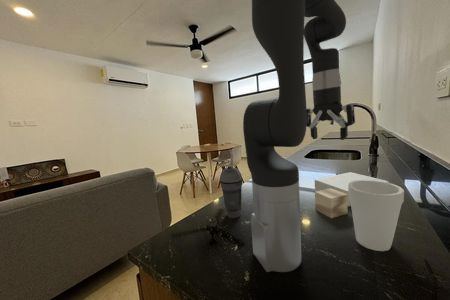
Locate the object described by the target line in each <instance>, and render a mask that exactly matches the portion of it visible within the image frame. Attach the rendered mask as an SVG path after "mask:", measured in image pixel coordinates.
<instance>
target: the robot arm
mask: <svg viewBox="0 0 450 300" xmlns="http://www.w3.org/2000/svg"><path fill="white" fill-rule="evenodd" d="M305 18H310V19H308V20H307V22H305ZM251 24H252V25H251V26H252V30H253V33H254V35H255V38H256V39H257V41H258V43H259V44H260V46H261V47H262V49H263V50H264V51H265V53H266V54H267V56H268V58H269V59H270V60H271V62H272V63H273V66H274V68H275V70H276V73H277V74H276V75H277V79H278V80H277V82H278V97H272V98H267V99H266V98H264V99H260V100H255V101H252V102H251V103H249V104H248V105H247V107H246V108H245V110H244V113H243V118H242V119H243V121H242V129H243V138H244V139H243V140H244V148H245V154H246V163H247V168H248V170H249V172H250V175H251V183H252V184H251V187H252V200H253V201H252V202H253V212H252V213H250V225H251V226H250V228H251V238H252V241H251V243H252V252H253V253H252V254H253V255H254V256H255V258H256V259H257V260H258V262H259V264H261V266H262V267H263V269H264V270H265V272H266V273H270V272H278V273H288V272H289V273H290V272H292V271H295V270H296V269H297V268H298V267H299V266H300V265H301V263H302V243H301V242H302V239H301V237H302V236H301V235H302V234H301V209H300V207H301V206H300V204H301V203H300V175H299V174H300V172H299V167H298V166H297V165H296V164H295V163H294V162H292V161H289V160H288V159H286V158H284V157H282V156H281V155H280V154H278V152H277V151H276V149H275V147H276V148H292V147H293V148H294V147H299V146H300V145H301V144H302V143H303V141H304V139H305V136H306V132H307V128H309V130H310V137H311V138H312V140H317V139H318V127H317V126H318V125H319V123H320V122H325V121H328V122H330V121H334V122H335V123H337V124H338V125H339V126H340V129H339V131H340V133H339V136H340V140H341V141H344V140H346V138H347V137H348V136H349V134H348V133H349V131H348V127H349V126H350V127H351V126H353V125H354V124H355V123H356V116H355V106H354V103H349V104H345V105H343V104H342V90H341V89H342V88H341V86H342V81H341V72H340V55H339V50H338V49H337V48H335V47H331V48H323V47H321V45H320V43H324V42H326V41H327V42H328V41H329V40H333V39H336V38H338V37H339V36H341V35H342V34H343V33H344V30H346V25H347V18H346V14H345V12H344V11H343V9H342V8H341V6H340V5H339V4H338V3H337V2H336V0H251ZM304 41H305V42H304ZM304 43H306V45H307V48H308V51H309V55H310V58H311V66H312V67H311V68H312V82H311V83H312V85H311V86H312V99H313V100H312V101H313V108H311V107H308V108H307V99H306V98H307V94H306V93H307V92H306V82H305V81H306V80H305V67H304V66H305V63H304V62H305V61H304V54H305V53H304V50H305V49H304V45H305V44H304ZM342 111H344V113H346V119H345V118H344V116H343V115H342V114H341V112H342ZM313 114H314V115H315V117H314V118H313V120H312V115H313ZM346 120H347V121H346Z"/></svg>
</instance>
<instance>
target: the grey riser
mask: <svg viewBox="0 0 450 300" xmlns="http://www.w3.org/2000/svg"><path fill="white" fill-rule="evenodd" d="M358 180H373V181H382V182H386V183H390V181H388V180H384V179H382V178H377V177H376V178H375V177H372V176H368V175H363V174H359V173H356V172H351V171H349V172H343V173H340V174H335V175H331V176H330V175H329V176H327V177H325V176H324V177H322V178H321V177H320V178H316V179H314V193H315V192H316V191H321V190H325V189H329V188H331V189H334V190H337V191H339V192H342V193H345V194H348V183H350V182H352V181H358ZM348 207H351V201H350V197H349V194H348V198H347V208H348Z"/></svg>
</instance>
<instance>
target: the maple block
mask: <svg viewBox="0 0 450 300" xmlns="http://www.w3.org/2000/svg"><path fill="white" fill-rule="evenodd" d="M314 194H315V195H314V199H315V200H314V201H315V204H314V205H315V206H314V207H315V211H317V212H319V213H321V214H323V215H324V216H326V217H328V218H330V219H334V218H337V217H340V216H343V215H347V214H348V206H347V198H348V194H345V193H342V192H339V191H337V190H334V189H331V188H329V189H325V190H321V191H316V192H315V191H314Z"/></svg>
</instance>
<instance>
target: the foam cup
mask: <svg viewBox="0 0 450 300" xmlns="http://www.w3.org/2000/svg"><path fill="white" fill-rule="evenodd" d="M348 194H349V197H350V201H351V206H350V207H351V213H352V215H351V216H352V219H353V220H352V221H353V228H354V235H355V240H356V242H357V243H358V244H359V245H360V246H362V247H364V248H366V249H369V250H372V251H378V252H385V251H389V250H390V249H391V248H392V245H393V241H394V236H395V233H396V230H397V224H398V220H399V217H400V212H401V208H402V204H404V203H405V202H404V199H405V190H404V189H403V188H402V187H401V186H399V185H396V184H394V183H390V182H389V183H386V182H382V181H373V180H358V181H352V182H350V183H348Z"/></svg>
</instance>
